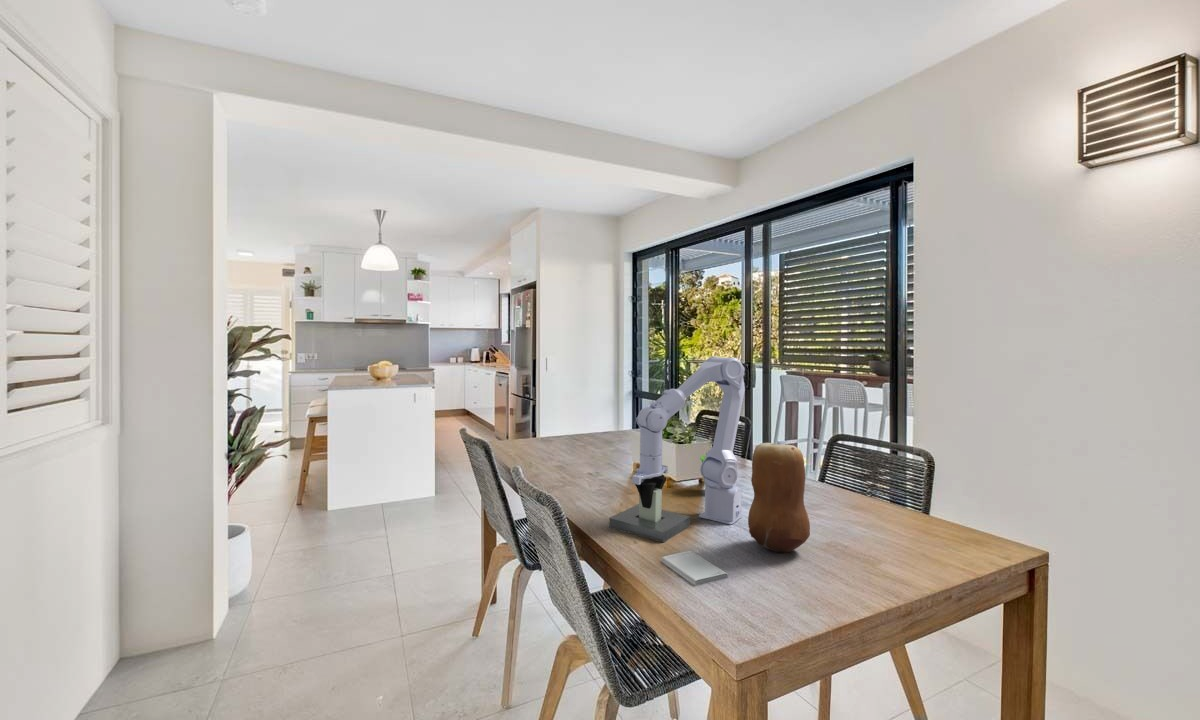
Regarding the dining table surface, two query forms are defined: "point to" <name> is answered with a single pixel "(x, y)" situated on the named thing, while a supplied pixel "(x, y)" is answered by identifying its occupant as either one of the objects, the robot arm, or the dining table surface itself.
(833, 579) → the dining table surface
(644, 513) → the keyed block
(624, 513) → the key plate
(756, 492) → the butternut squash
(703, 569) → the hard drive
